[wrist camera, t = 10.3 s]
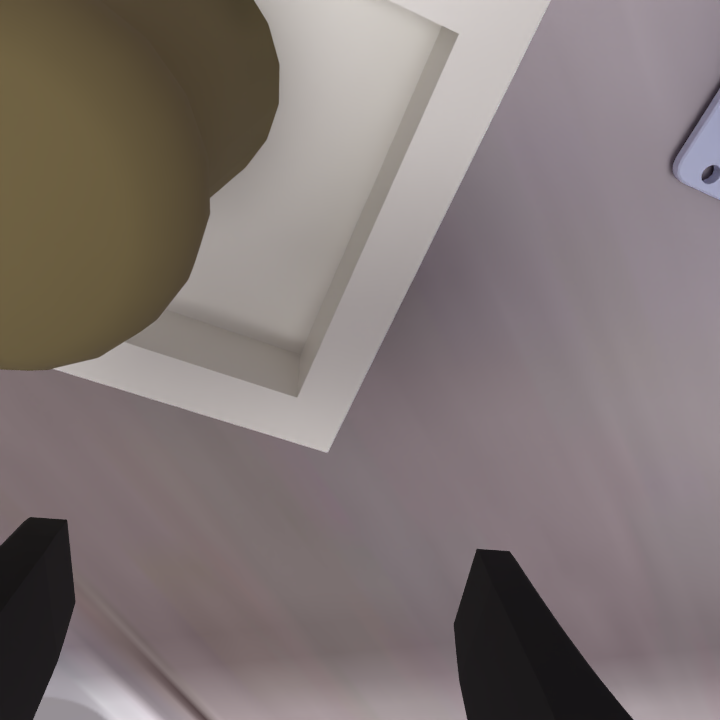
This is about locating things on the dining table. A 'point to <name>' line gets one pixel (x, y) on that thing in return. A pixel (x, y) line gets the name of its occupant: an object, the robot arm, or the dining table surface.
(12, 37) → the cork
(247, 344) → the cream tray
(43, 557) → the robot arm
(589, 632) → the dining table surface
